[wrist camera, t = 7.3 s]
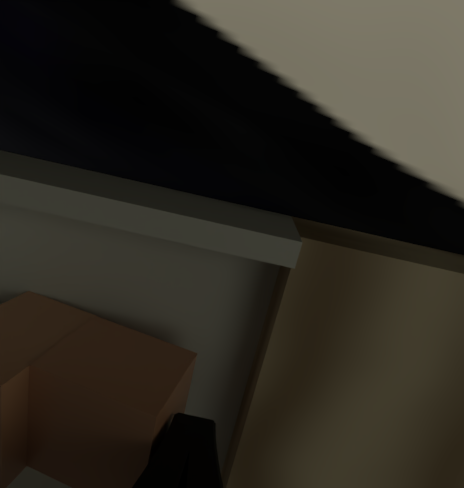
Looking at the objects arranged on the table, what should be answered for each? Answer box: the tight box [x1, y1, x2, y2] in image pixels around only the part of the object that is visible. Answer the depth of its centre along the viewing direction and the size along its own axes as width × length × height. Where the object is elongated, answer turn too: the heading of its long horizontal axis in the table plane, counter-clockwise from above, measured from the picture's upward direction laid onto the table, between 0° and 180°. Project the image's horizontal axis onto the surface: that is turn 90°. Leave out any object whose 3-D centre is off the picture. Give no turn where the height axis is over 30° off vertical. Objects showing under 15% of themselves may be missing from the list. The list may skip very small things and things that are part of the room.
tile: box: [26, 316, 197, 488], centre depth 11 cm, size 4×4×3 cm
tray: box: [0, 150, 303, 488], centre depth 12 cm, size 11×14×4 cm
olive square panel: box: [221, 216, 464, 488], centre depth 14 cm, size 14×14×2 cm
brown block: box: [0, 291, 96, 488], centre depth 12 cm, size 4×4×3 cm
